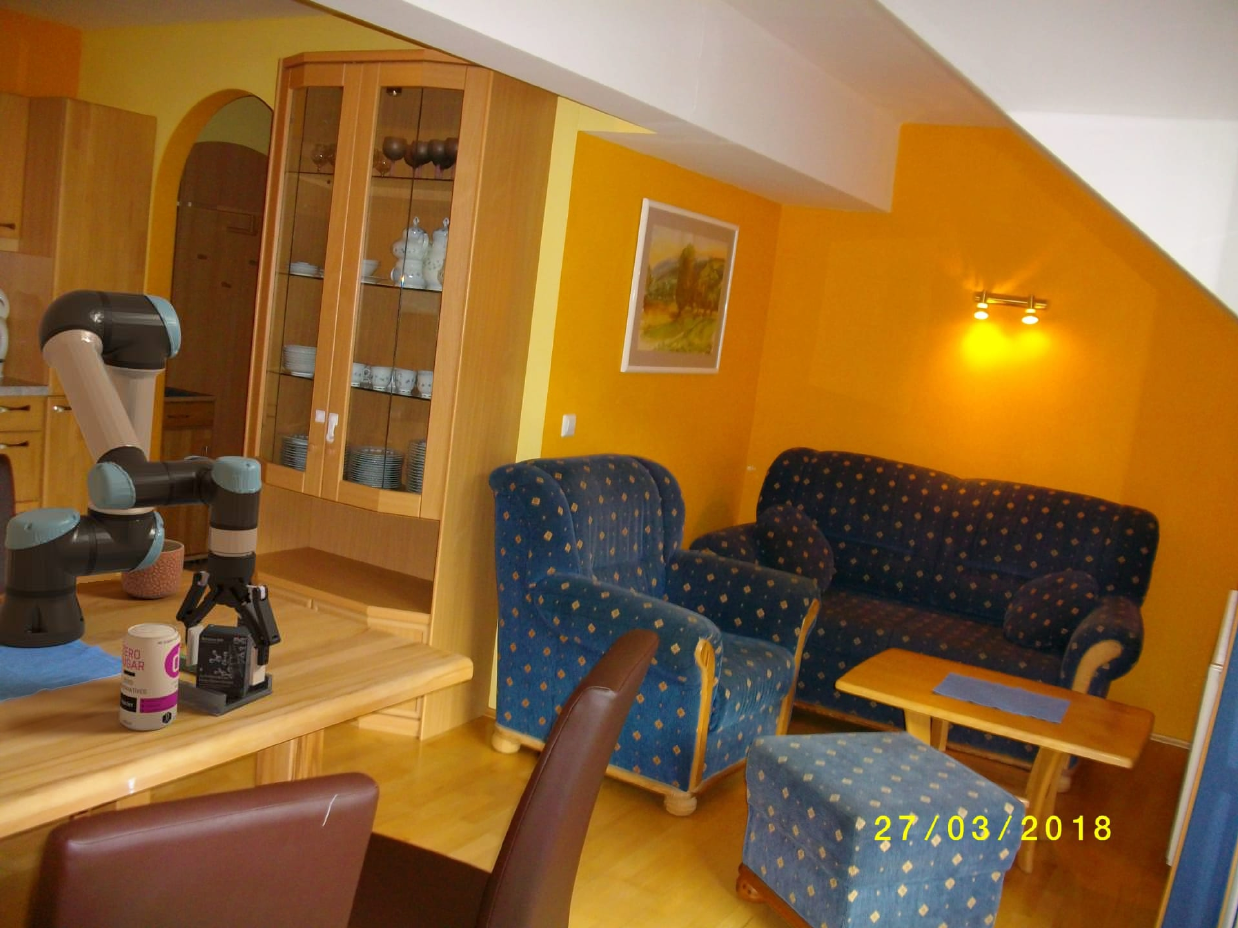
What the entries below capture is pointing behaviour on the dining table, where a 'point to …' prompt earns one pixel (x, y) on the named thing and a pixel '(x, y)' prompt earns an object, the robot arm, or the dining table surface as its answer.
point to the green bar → (183, 664)
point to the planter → (157, 574)
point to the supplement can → (149, 676)
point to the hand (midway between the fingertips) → (224, 673)
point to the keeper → (220, 697)
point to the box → (224, 659)
